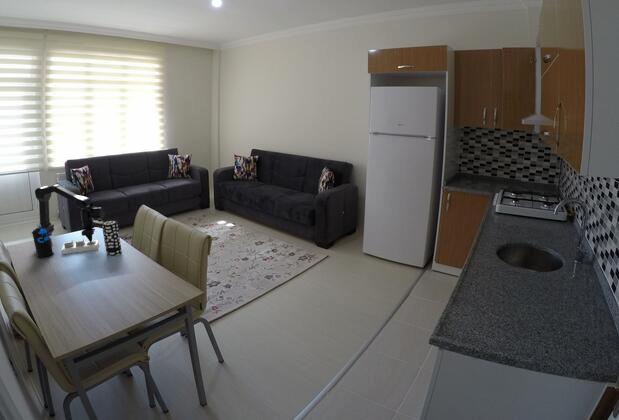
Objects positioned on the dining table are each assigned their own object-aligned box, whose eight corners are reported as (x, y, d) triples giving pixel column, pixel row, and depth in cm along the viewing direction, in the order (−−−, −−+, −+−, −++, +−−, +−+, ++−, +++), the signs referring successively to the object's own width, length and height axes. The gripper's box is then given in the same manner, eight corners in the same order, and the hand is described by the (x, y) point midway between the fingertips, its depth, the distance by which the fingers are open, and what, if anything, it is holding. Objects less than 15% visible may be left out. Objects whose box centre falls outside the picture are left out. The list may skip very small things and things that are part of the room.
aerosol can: (33, 257, 215) (26, 225, 210) (47, 252, 223) (41, 221, 217) (43, 259, 213) (36, 227, 207) (56, 254, 220) (50, 223, 214)
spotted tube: (111, 257, 217) (106, 226, 211) (103, 254, 221) (98, 223, 215) (124, 252, 224) (120, 222, 218) (116, 249, 228) (112, 219, 222)
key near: (65, 248, 222) (64, 243, 221) (65, 245, 226) (65, 241, 225) (72, 247, 224) (71, 242, 223) (73, 244, 227) (72, 240, 226)
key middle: (76, 246, 225) (75, 242, 224) (77, 244, 228) (76, 239, 227) (83, 245, 226) (83, 241, 225) (84, 243, 230) (83, 239, 229)
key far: (87, 247, 228) (87, 242, 227) (88, 245, 231) (87, 240, 230) (95, 246, 229) (94, 241, 228) (95, 244, 233) (94, 239, 232)
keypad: (62, 254, 220) (61, 249, 219) (64, 248, 228) (63, 244, 227) (97, 249, 228) (97, 244, 227) (98, 244, 236) (98, 239, 235)
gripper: (100, 220, 220) (104, 244, 225) (102, 212, 236) (106, 234, 241) (79, 223, 215) (83, 247, 220) (82, 214, 231) (86, 237, 236)
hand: (91, 241), depth 229 cm, fingers closed
